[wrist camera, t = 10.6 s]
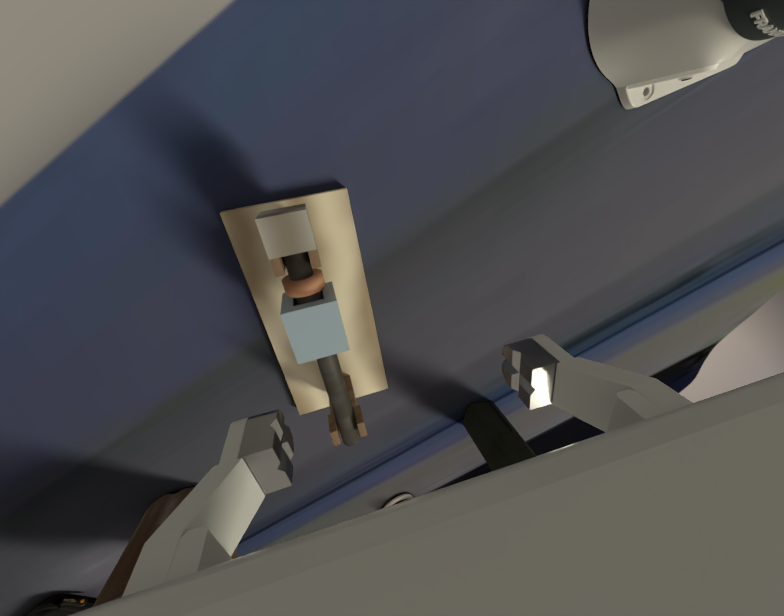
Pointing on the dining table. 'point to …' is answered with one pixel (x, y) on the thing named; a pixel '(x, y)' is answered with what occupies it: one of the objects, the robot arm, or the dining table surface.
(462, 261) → the dining table surface
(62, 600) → the carrying case or bag
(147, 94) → the dining table surface
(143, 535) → the plant pot
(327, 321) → the marker sleeve
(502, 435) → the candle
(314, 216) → the cord stand
